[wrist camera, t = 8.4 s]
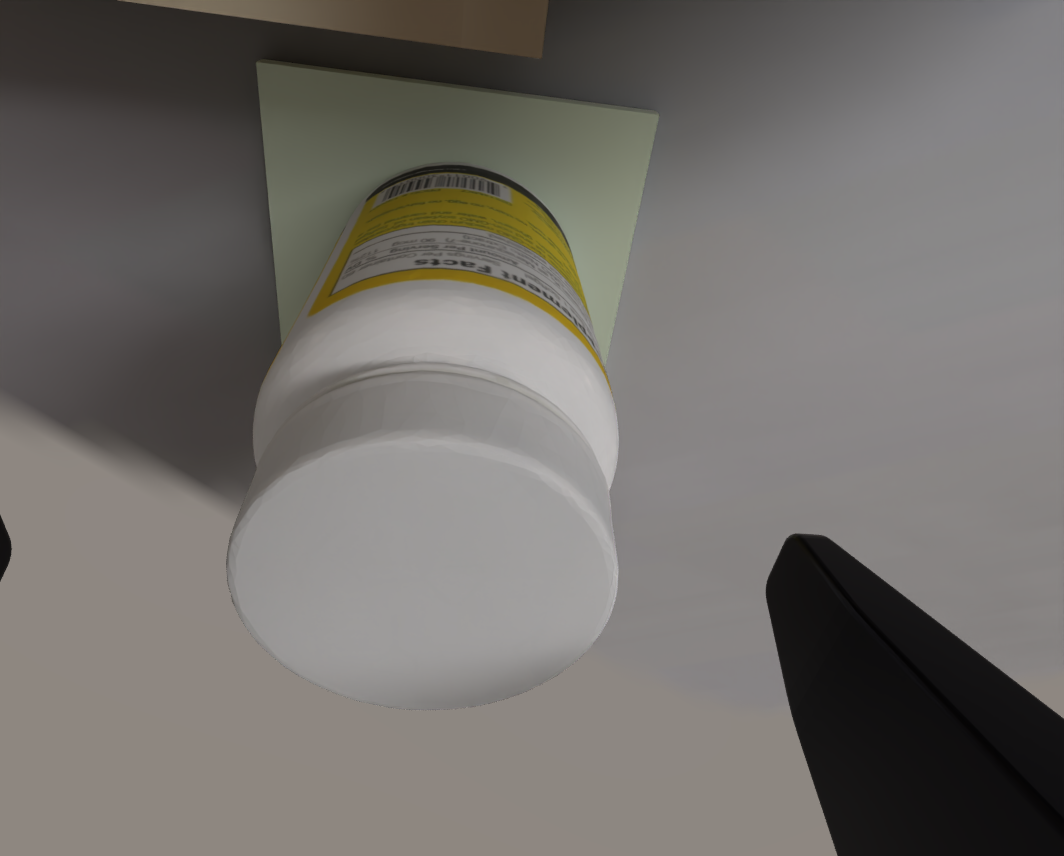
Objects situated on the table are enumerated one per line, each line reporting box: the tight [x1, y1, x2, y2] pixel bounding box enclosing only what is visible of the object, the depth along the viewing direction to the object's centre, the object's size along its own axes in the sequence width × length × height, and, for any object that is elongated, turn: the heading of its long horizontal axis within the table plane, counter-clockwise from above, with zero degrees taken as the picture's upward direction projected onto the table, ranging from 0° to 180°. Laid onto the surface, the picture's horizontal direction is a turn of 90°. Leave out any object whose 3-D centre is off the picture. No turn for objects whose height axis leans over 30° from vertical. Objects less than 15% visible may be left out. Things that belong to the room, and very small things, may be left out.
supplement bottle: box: [226, 162, 619, 710], centre depth 10 cm, size 5×5×8 cm
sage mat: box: [256, 59, 659, 366], centre depth 14 cm, size 7×7×1 cm
